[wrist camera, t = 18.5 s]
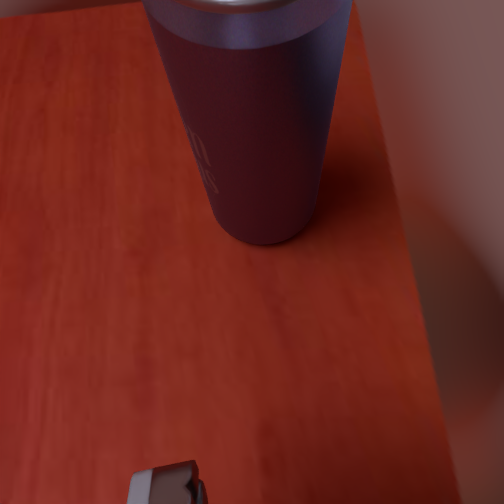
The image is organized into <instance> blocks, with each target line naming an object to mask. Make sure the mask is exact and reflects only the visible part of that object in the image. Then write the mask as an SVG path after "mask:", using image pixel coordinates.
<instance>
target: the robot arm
mask: <svg viewBox="0 0 504 504" xmlns="http://www.w3.org/2000/svg"><path fill="white" fill-rule="evenodd" d="M127 504H208V498H207V493H206V489H205V486H204V483H203V481H202V480H200V479H199V469H198V466H197V464H196V461H195V460H190V461H185V462H180V463H175V464H171V465H166V466H161V467H156V468H152V469H148V470H143V471H138V472H134V474H133V476H132V478H131V483H130V488H129V494H128V499H127Z"/></svg>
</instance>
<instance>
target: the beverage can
mask: <svg viewBox="0 0 504 504" xmlns="http://www.w3.org/2000/svg"><path fill="white" fill-rule="evenodd" d="M142 3H143V6H144V9H145V12H146V15H147V18H148V21H149V24H150V27H151V30H152V33H153V36H154V39H155V42H156V44H157V47H158V50H159V53H160V56H161V59H162V62H163V65H164V68H165V71H166V74H167V77H168V80H169V83H170V86H171V89H172V92H173V95H174V98H175V101H176V104H177V107H178V110H179V113H180V116H181V118H182V121H183V124H184V127H185V130H186V133H187V136H188V139H189V142H190V145H191V148H192V151H193V154H194V157H195V160H196V163H197V166H198V169H199V172H200V175H201V178H202V181H203V184H204V187H205V190H206V192H207V195H208V198H209V201H210V204H211V207H212V210H213V213H214V216H215V218H216V220H217V221H218V223H219V224H220V225H221V227H222V228H223V229H224V230H225V231H226V232H228V233H229V234H230V235H232V236H233V237H235V238H237V239H239V240H241V241H244V242H247V243H252V244H261V245H264V244H273V243H278V242H281V241H284V240H286V239H288V238H290V237H292V236H294V235H295V234H297V233H298V232H299V231H300V230H301V229H302V228H303V227H304V226H305V225H306V224H307V223H308V221H309V220H310V218H311V216H312V214H313V212H314V209H315V205H316V200H317V194H318V189H319V183H320V178H321V172H322V167H323V161H324V156H325V150H326V144H327V139H328V133H329V128H330V122H331V117H332V111H333V106H334V100H335V94H336V89H337V83H338V78H339V72H340V67H341V61H342V56H343V50H344V44H345V39H346V33H347V28H348V22H349V17H350V11H351V6H352V0H142Z"/></svg>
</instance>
